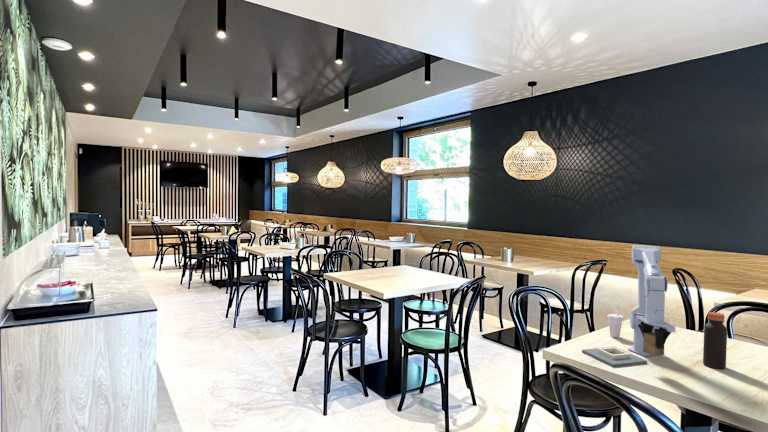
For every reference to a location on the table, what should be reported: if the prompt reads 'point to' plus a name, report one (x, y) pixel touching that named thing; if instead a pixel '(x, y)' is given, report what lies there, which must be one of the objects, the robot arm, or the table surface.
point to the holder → (614, 356)
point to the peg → (651, 344)
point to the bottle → (715, 341)
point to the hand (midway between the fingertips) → (653, 346)
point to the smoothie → (615, 324)
